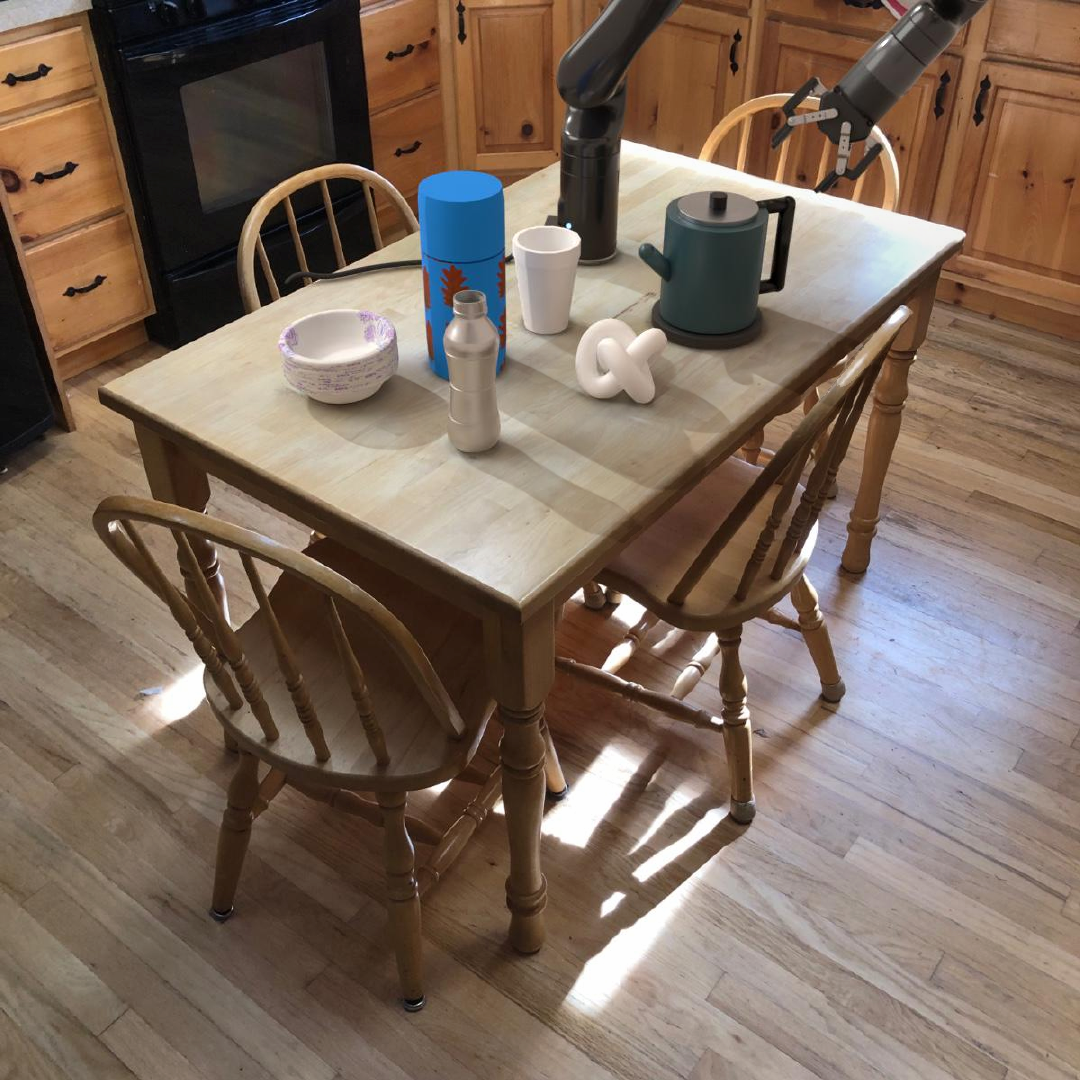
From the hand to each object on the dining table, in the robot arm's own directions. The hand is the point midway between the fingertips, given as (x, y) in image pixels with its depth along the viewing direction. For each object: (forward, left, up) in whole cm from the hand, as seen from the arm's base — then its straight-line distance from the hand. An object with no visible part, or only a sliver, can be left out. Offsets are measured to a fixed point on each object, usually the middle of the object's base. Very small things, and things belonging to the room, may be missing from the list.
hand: (794, 169), depth 165 cm
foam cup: (-33, -13, -20) cm, 41 cm away
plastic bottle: (-37, -46, -20) cm, 62 cm away
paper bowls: (-57, -35, -20) cm, 70 cm away
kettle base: (-10, -9, -20) cm, 24 cm away
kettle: (-10, -9, -18) cm, 22 cm away
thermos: (-42, -26, -20) cm, 53 cm away
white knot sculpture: (-20, -31, -20) cm, 42 cm away
